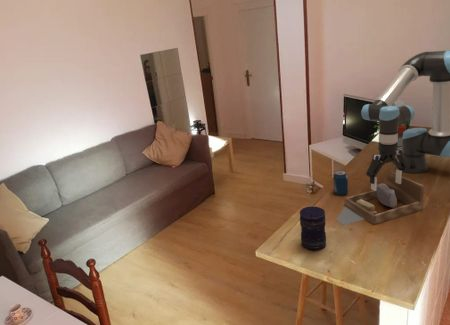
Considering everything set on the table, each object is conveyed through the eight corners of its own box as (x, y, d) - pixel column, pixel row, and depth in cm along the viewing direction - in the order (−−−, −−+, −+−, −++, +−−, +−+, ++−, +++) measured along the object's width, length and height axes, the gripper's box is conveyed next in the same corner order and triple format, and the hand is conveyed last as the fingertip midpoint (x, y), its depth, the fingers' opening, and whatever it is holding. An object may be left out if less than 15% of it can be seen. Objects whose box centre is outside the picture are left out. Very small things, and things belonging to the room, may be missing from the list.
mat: (342, 205, 167) (342, 204, 167) (364, 219, 152) (364, 219, 152) (323, 210, 164) (323, 210, 164) (343, 225, 150) (343, 225, 150)
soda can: (350, 192, 178) (350, 171, 174) (343, 197, 174) (343, 176, 170) (337, 189, 183) (337, 168, 179) (331, 194, 179) (330, 173, 175)
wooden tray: (388, 192, 173) (389, 170, 169) (421, 209, 154) (423, 185, 150) (344, 205, 166) (344, 183, 162) (373, 224, 148) (374, 199, 144)
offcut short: (361, 203, 161) (361, 199, 160) (374, 210, 153) (374, 205, 153) (356, 205, 160) (356, 201, 159) (369, 212, 152) (369, 207, 152)
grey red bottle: (404, 147, 229) (407, 102, 219) (394, 147, 231) (396, 103, 221) (397, 138, 247) (399, 97, 237) (387, 139, 249) (389, 98, 239)
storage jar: (303, 236, 146) (302, 205, 141) (327, 239, 142) (326, 207, 137) (299, 250, 137) (297, 217, 132) (324, 253, 134) (323, 219, 128)
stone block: (374, 201, 166) (374, 182, 163) (384, 200, 166) (384, 181, 163) (387, 213, 155) (388, 193, 152) (397, 211, 155) (398, 191, 152)
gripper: (404, 135, 156) (402, 177, 164) (358, 145, 150) (357, 189, 157) (417, 138, 150) (414, 183, 157) (369, 149, 143) (368, 195, 150)
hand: (386, 186), depth 157 cm, fingers open, 13 cm apart
